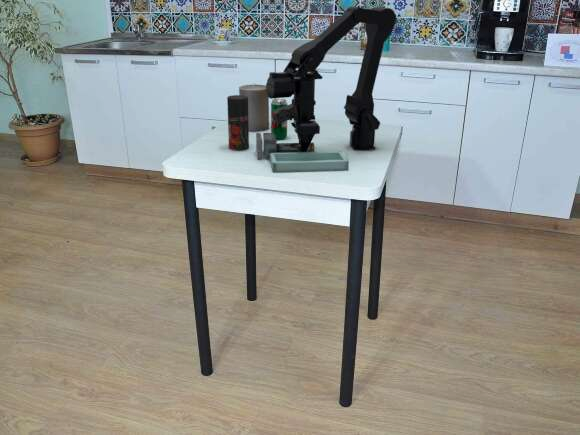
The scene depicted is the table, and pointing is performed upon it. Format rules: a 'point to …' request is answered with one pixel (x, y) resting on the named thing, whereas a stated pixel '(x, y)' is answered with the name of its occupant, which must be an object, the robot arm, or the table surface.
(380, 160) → the table surface
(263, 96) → the pillar candle
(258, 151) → the clevis
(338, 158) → the tray
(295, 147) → the dark grey cylinder
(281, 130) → the soda can
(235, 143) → the deodorant
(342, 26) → the robot arm
